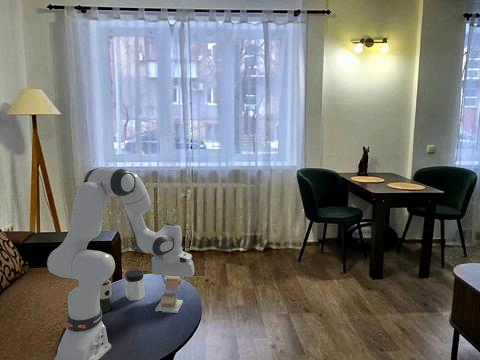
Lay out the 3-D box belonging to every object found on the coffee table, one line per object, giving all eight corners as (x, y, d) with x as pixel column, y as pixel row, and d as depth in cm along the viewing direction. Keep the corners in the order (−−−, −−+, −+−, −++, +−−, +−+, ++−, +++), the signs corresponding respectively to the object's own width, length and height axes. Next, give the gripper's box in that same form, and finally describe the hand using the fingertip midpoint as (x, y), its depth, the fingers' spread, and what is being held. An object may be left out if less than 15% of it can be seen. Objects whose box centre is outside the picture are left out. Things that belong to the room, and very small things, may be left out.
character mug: (105, 317, 178) (103, 289, 175) (90, 315, 179) (88, 287, 176) (117, 304, 188) (115, 278, 186) (103, 303, 190) (101, 277, 187)
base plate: (177, 312, 181) (177, 310, 181) (155, 311, 183) (155, 309, 183) (183, 302, 191) (182, 300, 191) (162, 300, 192) (162, 298, 192)
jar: (147, 298, 195) (146, 274, 193) (130, 302, 190) (129, 278, 188) (140, 290, 202) (139, 268, 200) (123, 295, 198) (122, 271, 195)
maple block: (173, 307, 184) (173, 298, 183) (161, 307, 185) (161, 297, 184) (177, 302, 189) (176, 293, 188) (165, 301, 190) (165, 292, 189)
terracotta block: (177, 290, 192) (177, 281, 191) (165, 289, 193) (165, 280, 192) (180, 285, 197) (180, 276, 197) (168, 284, 198) (168, 275, 197)
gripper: (149, 257, 191) (149, 285, 193) (191, 260, 188) (191, 288, 190) (153, 252, 197) (154, 279, 199) (195, 255, 194) (195, 282, 196)
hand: (173, 283), depth 195 cm, fingers closed on terracotta block, 6 cm apart
